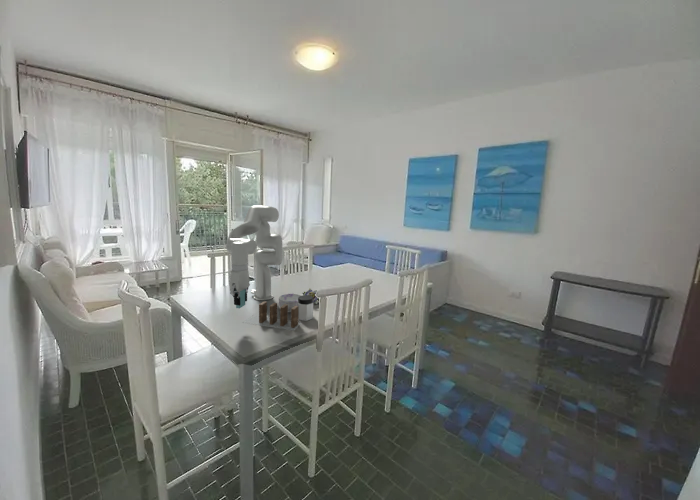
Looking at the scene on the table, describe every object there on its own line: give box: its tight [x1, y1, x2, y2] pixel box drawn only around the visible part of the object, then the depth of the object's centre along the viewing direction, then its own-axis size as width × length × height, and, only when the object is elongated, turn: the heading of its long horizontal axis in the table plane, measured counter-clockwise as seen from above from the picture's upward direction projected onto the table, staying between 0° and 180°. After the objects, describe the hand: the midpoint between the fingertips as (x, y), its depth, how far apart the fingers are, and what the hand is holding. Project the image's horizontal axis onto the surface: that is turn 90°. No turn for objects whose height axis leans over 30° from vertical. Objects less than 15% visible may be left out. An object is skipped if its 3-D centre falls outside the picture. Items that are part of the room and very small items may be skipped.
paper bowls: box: [278, 293, 303, 313], centre depth 171 cm, size 15×15×8 cm
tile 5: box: [290, 306, 299, 328], centre depth 148 cm, size 2×5×10 cm, turn 167°
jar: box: [298, 294, 314, 322], centre depth 159 cm, size 9×8×12 cm
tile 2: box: [258, 300, 268, 323], centre depth 152 cm, size 2×5×10 cm, turn 167°
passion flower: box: [301, 288, 319, 305], centre depth 182 cm, size 11×11×12 cm
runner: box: [242, 314, 302, 331], centre depth 152 cm, size 29×10×1 cm, turn 77°
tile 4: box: [279, 304, 289, 326], centre depth 149 cm, size 2×5×10 cm, turn 167°
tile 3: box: [269, 302, 278, 325], centre depth 151 cm, size 2×5×10 cm, turn 167°
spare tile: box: [235, 289, 246, 309], centre depth 141 cm, size 2×5×10 cm, turn 167°
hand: (240, 302), depth 142 cm, fingers closed on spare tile, 4 cm apart
